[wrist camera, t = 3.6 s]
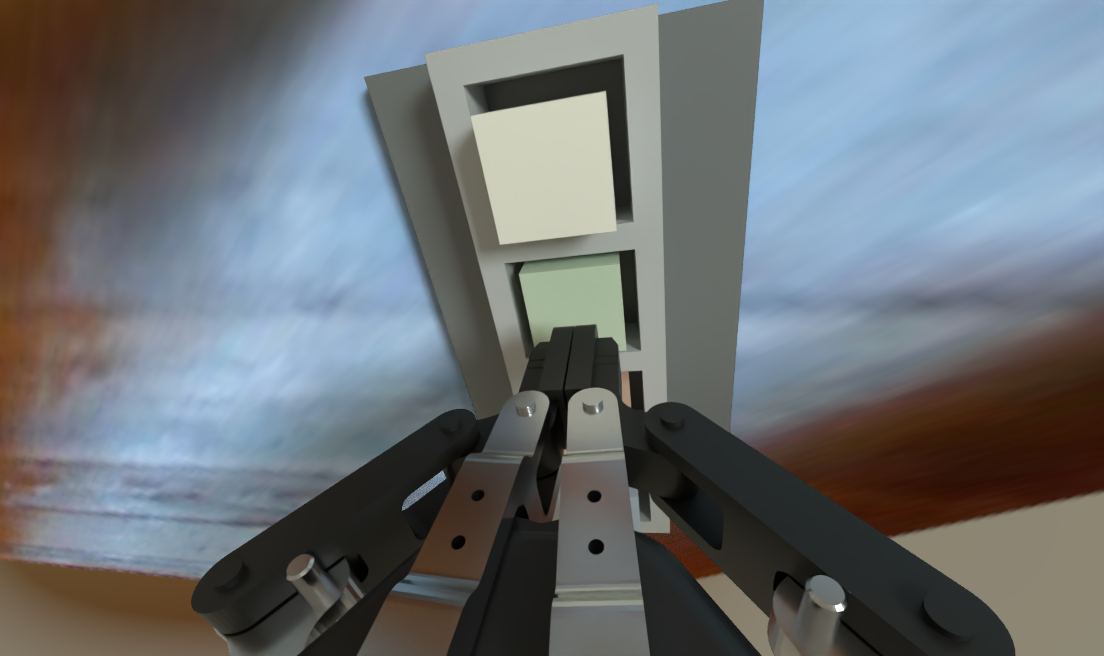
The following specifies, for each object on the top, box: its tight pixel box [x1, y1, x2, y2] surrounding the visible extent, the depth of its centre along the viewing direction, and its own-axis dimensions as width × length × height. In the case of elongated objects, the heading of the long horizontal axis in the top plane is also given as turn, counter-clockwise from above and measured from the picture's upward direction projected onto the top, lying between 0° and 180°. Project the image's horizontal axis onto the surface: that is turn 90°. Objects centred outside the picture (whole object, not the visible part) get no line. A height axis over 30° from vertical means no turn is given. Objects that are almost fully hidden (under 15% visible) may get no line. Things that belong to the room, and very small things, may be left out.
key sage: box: [519, 251, 627, 351], centre depth 17 cm, size 4×4×3 cm
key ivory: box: [471, 91, 617, 245], centre depth 13 cm, size 4×4×3 cm
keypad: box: [364, 0, 764, 533], centre depth 19 cm, size 14×24×4 cm, turn 9°
